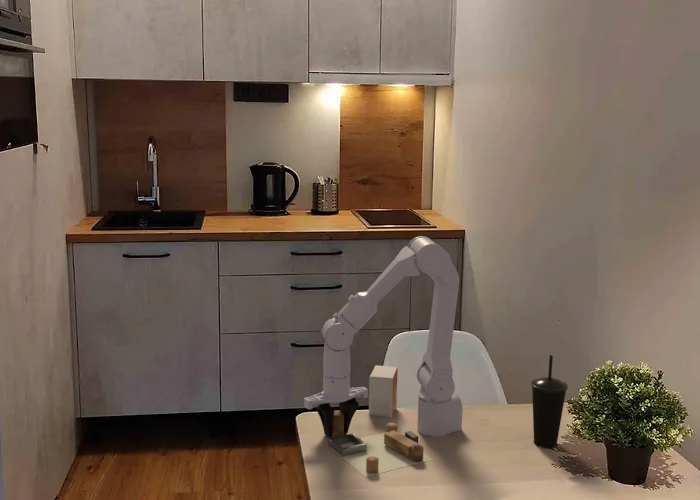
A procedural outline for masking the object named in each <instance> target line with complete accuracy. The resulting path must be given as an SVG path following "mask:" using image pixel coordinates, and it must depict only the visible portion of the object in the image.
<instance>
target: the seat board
mask: <svg viewBox="0 0 700 500" xmlns="http://www.w3.org/2000/svg"><path fill="white" fill-rule="evenodd" d="M385 430H386V431H385V432H383V433H381V432H380V433H377V434H373V435H369V436H364V437H361V438H360V437H359V438H360V439H361V440H362V441H364V442H365V443H366V444H367V451H365V452H361V453H357V454H353V455H349V456H345V457H342V456H340V455H339V454H338V453H337V452H336V451H334V450H333V449H332V448H331V447H330V446H329V445H328V447H329V448H330V449H331V450H333V451H334V452H335V454H336V455H338V456H340V457H341V458H342V459H343V460H344V461H346V462H347V463H348V464H349V465H350V466H351V467H352V468H353V469H355V470H356V472H358V473H359V474H360V475H362V476H363V477H364V478H367V477H371V476H375V475H379V474H383V473H386V472H392V471H394V470H399V469H403V468H406V467H407V468H408V467H409V466H415V465H418V464H422V463H426V462H430V461H434V459H433V458H431V457H430V455H427V454H426V453H424V452H423V460H421V461H413V460H411V459H410V458H408V457H406V456H404V455H402V454H401V453H399V452H397V451H396V450H394V449H392V448H390V447H389V446H387V445H385V444H384V433H387V432H390V431H393V430H394V431H396V432H398V424H397V423H396V422H388V423H386V429H385ZM404 436H405V437H407V438H409V439H411V440H412V441H414V442H416V443H418V444H419V435H417V434H416V433H414V432H413V431H411V430H408V431H405V432H404ZM354 445H355V444H354V443H353V442H350V443H346V444H341V445H340V446H342V447H343V448H346V447H350V446H354Z"/></svg>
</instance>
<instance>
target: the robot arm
mask: <svg viewBox="0 0 700 500" xmlns="http://www.w3.org/2000/svg"><path fill="white" fill-rule="evenodd" d="M419 270H420V271H421V272H422V273H425V274H426V275H428V276H429V277H430V278H431V280H433V282H434V286H433V287H434V288H433V295H432V303H431V305H432V306H431V313H430V314H431V315H430V322H429V328H428V329H429V330H428V331H429V332H428V337H427V338H428V339H427V340H428V341H427V345H426V346H427V347H426V351H425V353H424V354H423V356H422V361H421V364H420V365H419V366H418V369H417V371H416V379H417V382H418V383H419V385H421V386H420V389H419V391H418V396H417V397H418V401H417V427H416V428H417V432H418V433H420V434H422V435H425V436H428V437H435V438H437V437H443V436H447V435H449V434H451V433H454V432H455V433H456V432H458V431H461V430H462V429H463V427H462V425H463V403H462V400H461V398H460V397H459V395H458V394H457V393H455V390H456V385H455V381H454V380H453V373H454V372H453V364H452V361H451V360H452V359H451V350H452V344H453V336H454V327H455V320H456V312H457V311H456V310H457V303H458V295H459V288H460V287H459V286H460V275H459V273H458V271H457V269H456V267H455V265H454V263H453V260H452V257H451V255H450V253H449V252H447V251H446V250H445V249H444V248H443V247H442V246H440V245H439V244H437V243H436V242H435V241H433V240H432V239H431V238H430V237H427V236H423V235H419V236H416V237H414V238H412V239H411V240H410V242H409V243H408V245H406V246H404V247H403V248H402V249H401V250H400V251H399V253H398V254H397V255H396V257H395V258H394V259H393V260H392V261H391V263H390V264H389V265H388V266H387V267H386V268H385V269H384V270H383V272H382V273H381V274H380V275H379V276H378V277H377V279H375V281H374V282H373V283H371V285H370V287H368V289H367V290H366V291H359V292H356V294H355V295H353V294H350V296H349V297H348V298H347V300H348V302H347V303H346V304H345V305H344V306H343V307H342V308H341V309H340V310H339V311H338V312H335V313H334V314H332V318H329V319H327V320H326V321H325V322H324V324H323V327H322V329H321V330H320V332H321V334H322V335H321V336H322V337H323V338H324V346H323V350H324V351H323V362H322V363H323V371H322V372H323V374H322V375H323V376H322V377H323V378H322V382H323V384H322V391H321V392H318V393H316V394H314V395H311V396H308V397H304V398H303V407H304V408H305V409H307V410H312V409H313V408H315V410H316V412H317V414H318V416H319V419H320V421H321V425H322V428H323V433H324V435H325V436H327V438H331V436H332V420H333V415H334V412H335V411H336V410H334V408H332V405H331V404H336V403H337V404H338V407H339V411H341V412H343V413H344V435H347V434H349V433H348V432H349V431H350V430H349V429H350V426H351V423H352V419H353V417H354V416H355V413H356V411H357V410H358V408H359V401H357V399H361V398H362V399H367V398H368V399H369V389H368V388H366V387H365V386H358V387H351V353H350V349H351V348H350V346H351V345H352V344H353V342H354V335H355V334H356V333H358V332H359V331H360V330H361V329H362V327H363V326H364V325H365V324H366V323H367V322H368V321H369V320H370V319H371V318H372V317H373V316H374V315H375V314H376V313H377V312H378V304H379V302H380V301H381V300H382V299H383V298H384V297H385V296H387V294H388V293H389V292H391V291H392V289H393V288H395V287H396V286H397V285H398V284H399V283H400V282H401V281H402V280H403V279H404V278H405V277H406V278H409V277H418V276H420V275H421V274H420V272H419Z"/></svg>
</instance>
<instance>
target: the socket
mask: <svg viewBox="0 0 700 500" xmlns="http://www.w3.org/2000/svg"><path fill="white" fill-rule="evenodd" d="M350 442H353V443H354V444H355V445H354V446H350V447H346V448H343V447H342V446H340V445H341V444H346V443H350ZM329 446H330V447H331V448H332V449H333V451H334V452H335V451H336V452H337V453H338V454H339V455H338V454H337V453H336V452H335V453H336V454H337V455H338V456H339V457H341V456H342V457H345V456H349V455H353V454H357V453H361V452H365V451H367V444H366V443H365V442H364V441H362V440H361V439H360V437H358V436H357V435H356V434H355V433H350V434H349V433H347V434H344V436H339V437H335V438H331V437H330V438H328V447H329ZM330 447H329V448H330ZM331 448H330V449H331ZM332 449H331V450H332ZM342 457H341V458H342Z"/></svg>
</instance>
